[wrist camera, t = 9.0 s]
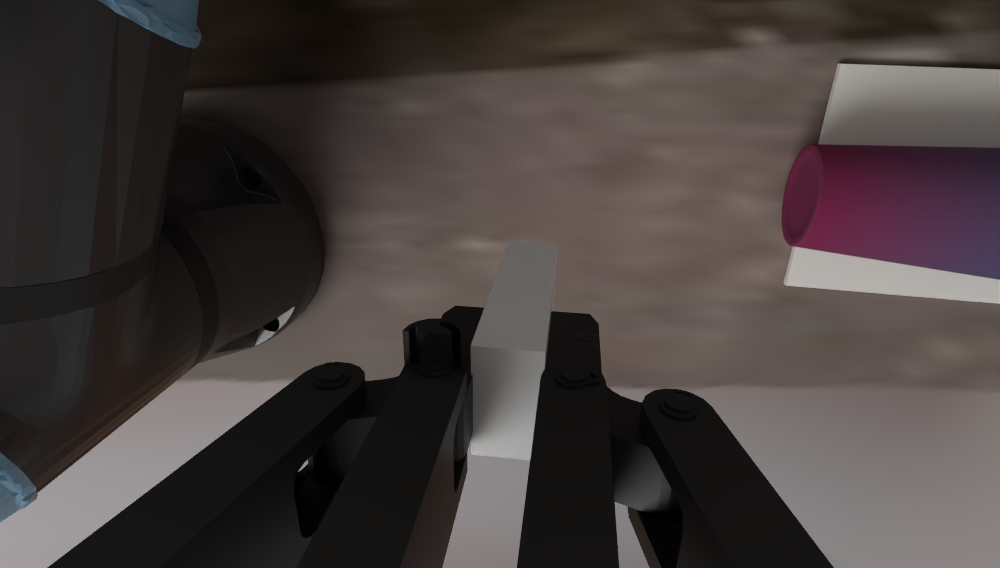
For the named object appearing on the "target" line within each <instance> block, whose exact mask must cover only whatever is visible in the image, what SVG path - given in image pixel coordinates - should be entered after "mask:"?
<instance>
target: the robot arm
mask: <svg viewBox="0 0 1000 568" xmlns="http://www.w3.org/2000/svg"><path fill="white" fill-rule="evenodd" d="M198 3H199V0H0V522H1V521H3V520H4V519H6V518H7V517H9V516H10V515H12V514H13V513H15V512H16V511H17V510H19V509H22V508H25V507H26V506H27V505H29V504H30V503H31V502H33V501H34V500H36V498H37V496H38V495H37V493H38V492H39V491H40V490H42V489H43V488H44V487H45V486H47V485H48V484H49V483H50V482H52V481H53V480H54V479H55V478H57V477H58V476H59V475H60V474H62V473H63V472H64V471H65V470H66V469H68V468H69V467H70V466H71V465H73V464H74V463H75V462H76V461H78V460H79V459H80V458H81V457H83V456H84V455H85V454H86V453H88V452H89V451H90V450H91V449H92V448H94V447H95V446H96V445H97V444H99V443H100V442H101V441H102V440H104V439H105V438H106V437H107V436H109V435H110V434H111V433H112V432H114V431H115V430H116V429H117V428H118V427H120V426H121V425H122V424H124V423H125V422H126V421H127V420H128V419H130V418H131V417H132V416H133V415H135V414H136V413H137V412H138V411H139V410H141V409H142V408H143V407H144V406H146V405H147V404H148V403H150V402H151V401H152V400H153V399H155V398H156V397H157V396H158V395H159V394H160V393H162V392H163V391H164V390H166V389H167V388H168V387H169V386H171V385H172V384H173V383H174V382H176V381H177V380H178V379H179V378H181V377H182V376H183V375H184V374H185V373H186V372H188V371H189V370H190V369H191V368H193V367H194V366H195V365H197V364H198V363H201V362H205V361H208V360H211V359H215V358H218V357H221V356H225V355H228V354H231V353H235V352H238V351H241V350H244V349H248V348H251V347H254V346H257V345H259V344H262V343H264V342H266V341H268V340H270V339H271V338H273V337H275V336H276V335H278V334H279V333H280V332H282V331H283V330H284V329H285V328H286V327H287V326H288V325H290V324H291V323H292V322H293V321H294V320H295V319H296V318H297V317H298V316H299V315H300V314H301V313H302V312H303V311H304V310H305V309H306V308H307V306H308V305H309V303H310V302H311V300H312V298H313V297H314V294H315V292H316V290H317V287H318V285H319V281H320V278H321V273H322V266H323V244H322V237H321V232H320V227H319V224H318V220H317V217H316V214H315V211H314V209H313V207H312V204H311V202H310V200H309V198H308V196H307V194H306V193H305V191H304V189H303V188H302V186H301V184H300V183H299V181H298V180H297V179H296V177H295V176H294V175H293V173H292V172H291V171H290V170H289V168H288V167H287V166H286V165H285V164H284V163H283V162H282V161H281V160H280V159H279V158H278V157H277V156H276V155H275V154H274V153H273V152H272V151H270V150H269V149H268V148H267V147H265V146H264V145H263V144H261V143H260V142H258V141H257V140H256V139H254V138H252V137H251V136H249V135H247V134H245V133H244V132H242V131H240V130H238V129H235V128H233V127H230V126H228V125H225V124H222V123H218V122H215V121H210V120H204V119H195V118H185V119H180V115H181V109H182V104H183V98H184V92H185V86H186V81H187V75H188V69H189V63H190V58H191V52H192V48H196V47H198V46H199V43H200V40H201V32H200V30H199V27H198V26H197V24H196V22H197V12H198ZM557 245H558V244H556V243H539V242H522V241H508V244H507V246H506V249H505V252H504V255H503V258H502V260H501V263H500V266H499V269H498V271H497V274H496V277H495V280H494V283H493V285H492V288H491V291H490V294H489V296H488V299H487V302H486V305H485V307H484V308H479V307H466V306H454V307H453V308H451V309H450V310H448V311H447V312H445V313H444V314H443V316H442V318H441V319H426V320H421V321H417V322H415V323H412V324H410V325H408V326H407V327H406V328H405V329H404V330H403V344H404V361H405V366H404V368H403V370H402V371H401V373H400V375H399V376H397V377H394V378H389V379H383V380H373V381H365V374H364V371H363V370H362V369H361V368H360V367H358V366H356V365H353V364H351V363H343V362H334V363H332V362H330V363H325V364H323V365H319V366H316V367H313V368H312V369H310V370H308V371H306V372H304V373H303V374H302V375H300V376H299V377H298V378H297V379H295V380H294V381H293V382H291V383H290V384H289V385H288V386H286V387H285V388H283V389H282V390H281V391H280V392H278V393H277V394H276V395H274V396H273V397H272V398H270V399H269V400H268V401H266V402H265V403H264V404H262V405H261V406H260V407H258V408H257V409H256V410H255V411H253V412H252V413H251V414H249V415H248V416H247V417H245V418H244V419H243V420H241V421H240V422H239V423H237V424H236V425H235V426H233V427H232V428H231V429H229V430H228V431H227V432H225V433H224V434H223V435H222V436H220V437H219V438H218V439H216V440H215V441H214V442H212V443H211V444H210V445H208V446H207V447H206V448H204V449H203V450H202V451H200V452H199V453H198V454H196V455H195V456H194V457H193V458H191V459H190V460H189V461H187V462H186V463H185V464H183V465H182V466H181V467H179V468H178V469H177V470H176V471H174V472H173V473H172V474H170V475H169V476H168V477H166V478H165V479H164V480H162V481H161V482H160V483H159V484H157V485H156V486H155V487H153V488H152V489H150V490H149V491H148V492H147V493H145V494H144V495H143V496H141V497H140V498H139V499H137V500H136V501H135V502H133V503H132V504H131V505H129V506H128V507H127V508H125V509H124V510H123V511H121V512H120V513H119V514H118V515H116V516H115V517H114V518H112V519H111V520H110V521H109V522H107V523H106V524H104V525H103V526H102V527H100V528H99V529H98V530H96V531H95V532H94V533H93V534H91V535H90V536H89V537H87V538H86V539H85V540H83V541H82V542H81V543H79V544H78V545H77V546H75V547H74V548H73V549H71V550H70V551H69V552H68V553H66V554H65V555H64V556H62V557H61V558H60V559H58V560H57V561H56V562H54V563H53V564H52V565H50V566H49V567H48V568H442V566H443V563H444V559H445V555H446V551H447V547H448V543H449V539H450V536H451V532H452V528H453V524H454V520H455V516H456V512H457V509H458V505H459V501H460V497H461V493H462V489H463V485H464V481H465V478H466V474H467V451H468V447H469V444H470V440H471V454H472V455H482V456H492V457H501V458H511V459H522V460H530V467H529V475H528V483H527V491H526V499H525V508H524V515H523V523H522V531H521V539H520V547H519V556H518V564H517V568H619V560H618V546H617V531H616V517H615V503H614V501H615V502H618V503H620V504H623V505H626V506H628V514H629V518H630V521H631V523H632V526H633V528H634V531H635V533H636V535H637V538H638V540H639V543H640V545H641V548H642V550H643V553H644V555H645V557H646V560H647V562H648V565H649V567H650V568H834V567H833V566H832V565H831V564H830V562H829V561H828V560H827V558H826V557H825V556H824V554H823V553H822V552H821V550H820V549H819V548H818V546H817V545H816V544H815V543H814V541H813V540H812V538H811V537H810V536H809V534H808V533H807V532H806V531H805V529H804V528H803V526H802V525H801V524H800V523H799V521H798V520H797V519H796V517H795V516H794V515H793V513H792V512H791V511H790V509H789V508H788V507H787V505H786V504H785V503H784V501H783V500H782V499H781V497H780V496H779V495H778V493H777V492H776V491H775V489H774V488H773V487H772V486H771V484H770V483H769V481H768V480H767V479H766V478H765V476H764V475H763V474H762V472H761V471H760V470H759V468H758V467H757V466H756V464H755V463H754V462H753V461H752V459H751V458H750V456H749V455H748V454H747V452H746V451H745V450H744V448H743V447H742V446H741V445H740V443H739V442H738V441H737V439H736V438H735V437H734V435H733V434H732V433H731V431H730V430H729V429H728V427H727V426H726V425H725V423H724V422H723V421H722V420H721V418H720V417H719V415H718V414H717V413H716V411H715V410H714V409H713V407H712V406H710V405H709V404H708V403H707V402H706V401H705V400H704V399H702V398H700V397H698V396H696V395H694V394H692V393H690V392H687V391H683V390H679V389H660V390H655V391H652V392H651V393H649V394H647V395H646V396H645V398H644V400H643V402H642V403H641V402H637V401H634V400H631V399H628V398H625V397H622V396H620V395H618V394H617V393H615V392H613V391H612V390H611V389H610V388H608V387H607V386H606V381H605V379H604V376H603V375H602V371H601V355H600V340H599V324H598V323H597V322H596V321H595V319H594V318H593V317H592V316H591V315H590V314H582V313H568V312H554V311H553V310H554V294H555V278H556V261H557ZM307 459H308V464H307V465H306V466H305V467H304V468H303V469H302V470H301V471H299V472H298V470H299V469H300V468H301V466H302V465H303V464H304V462H305V461H306V460H307Z"/></svg>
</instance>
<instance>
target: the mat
mask: <svg viewBox="0 0 1000 568" xmlns="http://www.w3.org/2000/svg"><path fill="white" fill-rule="evenodd" d="M818 144H830V145H881V146H933V147H984V148H1000V69H972V68H945V67H918V66H891V65H864V64H838V65H837V69H836V73H835V77H834V81H833V85H832V89H831V93H830V97H829V101H828V105H827V109H826V113H825V117H824V121H823V125H822V130H821V134H820V138H819V142H818ZM784 284H785V285H787V286H798V287H810V288H822V289H834V290H846V291H857V292H869V293H881V294H893V295H904V296H916V297H928V298H940V299H952V300H963V301H975V302H987V303H999V304H1000V280H997V279H991V278H985V277H979V276H973V275H966V274H960V273H954V272H948V271H942V270H936V269H929V268H923V267H917V266H911V265H905V264H898V263H892V262H886V261H880V260H874V259H868V258H861V257H855V256H849V255H843V254H837V253H830V252H824V251H818V250H812V249H806V248H800V247H792V251H791V255H790V259H789V263H788V267H787V271H786V275H785V279H784Z"/></svg>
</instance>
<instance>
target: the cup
mask: <svg viewBox="0 0 1000 568" xmlns="http://www.w3.org/2000/svg"><path fill="white" fill-rule="evenodd" d="M782 230H783V235H784V238H785V240H786V242H787V243H788V244H789V245H790V246H793V247H800V248H806V249H812V250H818V251H824V252H830V253H837V254H843V255H849V256H855V257H861V258H868V259H874V260H880V261H886V262H892V263H898V264H905V265H911V266H917V267H923V268H929V269H936V270H942V271H948V272H954V273H960V274H966V275H973V276H979V277H985V278H991V279H997V280H1000V148H984V147H933V146H881V145H830V144H810V145H808V146H806V147H805V148H804V149H803V150H802V151H801V152H800V153H799V155H798V156H797V158H796V160H795V162H794V164H793V166H792V169H791V171H790V174H789V177H788V180H787V184H786V188H785V192H784V197H783V205H782Z"/></svg>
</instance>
